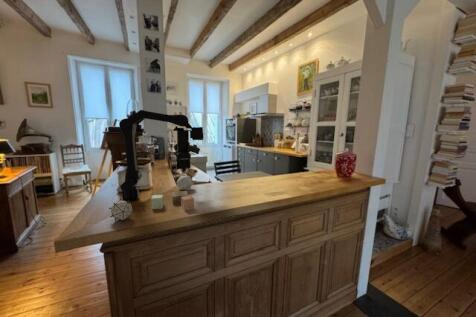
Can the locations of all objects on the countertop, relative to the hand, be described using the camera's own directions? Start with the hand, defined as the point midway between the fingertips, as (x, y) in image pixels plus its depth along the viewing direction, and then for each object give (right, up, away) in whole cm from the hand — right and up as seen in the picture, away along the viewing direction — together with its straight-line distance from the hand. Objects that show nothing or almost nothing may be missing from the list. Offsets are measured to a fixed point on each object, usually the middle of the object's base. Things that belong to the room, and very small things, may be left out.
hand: (183, 170), depth 105 cm
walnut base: (0, -15, -5) cm, 16 cm away
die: (-3, -12, +13) cm, 18 cm away
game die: (-17, -18, -26) cm, 36 cm away
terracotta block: (+6, -16, -14) cm, 22 cm away
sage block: (-8, -16, -13) cm, 22 cm away
